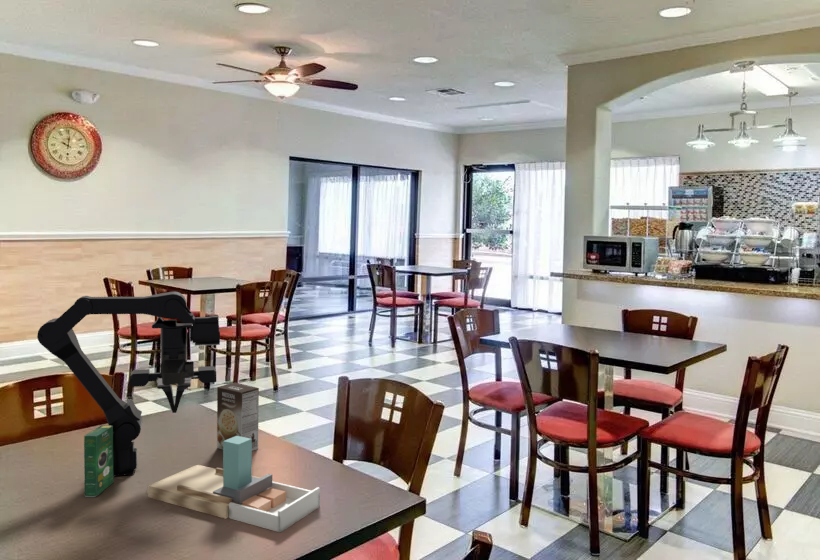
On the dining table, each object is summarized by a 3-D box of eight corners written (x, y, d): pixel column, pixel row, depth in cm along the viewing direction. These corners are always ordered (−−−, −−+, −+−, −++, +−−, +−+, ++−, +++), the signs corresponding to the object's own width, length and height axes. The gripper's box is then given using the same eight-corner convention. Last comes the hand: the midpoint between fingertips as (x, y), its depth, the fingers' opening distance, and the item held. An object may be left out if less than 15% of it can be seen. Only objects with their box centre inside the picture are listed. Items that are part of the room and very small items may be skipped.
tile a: (257, 504, 135) (257, 494, 135) (270, 497, 138) (270, 487, 138) (273, 508, 133) (273, 498, 133) (285, 500, 136) (285, 491, 136)
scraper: (212, 496, 133) (212, 445, 132) (246, 479, 142) (246, 431, 141) (240, 503, 130) (240, 451, 129) (272, 486, 138) (272, 437, 138)
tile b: (241, 511, 130) (241, 502, 130) (254, 504, 134) (255, 495, 134) (257, 517, 128) (258, 507, 128) (270, 509, 132) (271, 500, 132)
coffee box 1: (101, 482, 145) (100, 423, 144) (114, 482, 145) (113, 424, 144) (83, 497, 137) (82, 435, 136) (97, 497, 137) (96, 435, 136)
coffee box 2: (215, 448, 169) (215, 386, 167) (234, 441, 174) (234, 381, 173) (241, 455, 164) (241, 392, 162) (259, 448, 169) (260, 387, 168)
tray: (228, 518, 129) (228, 498, 129) (271, 494, 141) (271, 476, 140) (280, 532, 124) (280, 511, 123) (319, 506, 135) (319, 487, 135)
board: (148, 497, 138) (148, 480, 138) (197, 475, 151) (197, 460, 150) (226, 518, 129) (225, 501, 128) (271, 493, 141) (271, 477, 141)
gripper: (127, 354, 143) (128, 425, 144) (217, 351, 149) (217, 419, 150) (131, 345, 153) (132, 411, 155) (215, 342, 159) (215, 406, 160)
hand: (174, 412), depth 155 cm, fingers closed
